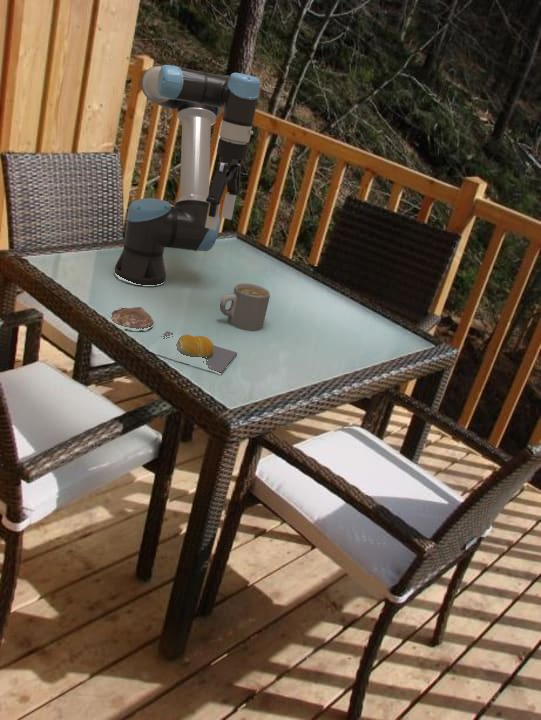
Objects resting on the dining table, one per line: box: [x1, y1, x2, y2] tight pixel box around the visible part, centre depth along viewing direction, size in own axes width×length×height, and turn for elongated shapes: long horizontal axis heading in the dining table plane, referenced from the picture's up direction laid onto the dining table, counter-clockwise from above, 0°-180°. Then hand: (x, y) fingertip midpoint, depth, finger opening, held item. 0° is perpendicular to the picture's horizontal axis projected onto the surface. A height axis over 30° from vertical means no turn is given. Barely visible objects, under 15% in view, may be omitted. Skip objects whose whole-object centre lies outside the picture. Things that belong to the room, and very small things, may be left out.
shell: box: [111, 306, 155, 329], centre depth 184 cm, size 12×13×4 cm
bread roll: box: [176, 334, 215, 358], centre depth 174 cm, size 8×9×4 cm
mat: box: [160, 330, 238, 373], centre depth 175 cm, size 19×13×1 cm
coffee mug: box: [219, 282, 271, 332], centre depth 198 cm, size 13×10×10 cm
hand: (218, 223), depth 186 cm, fingers open, 13 cm apart
